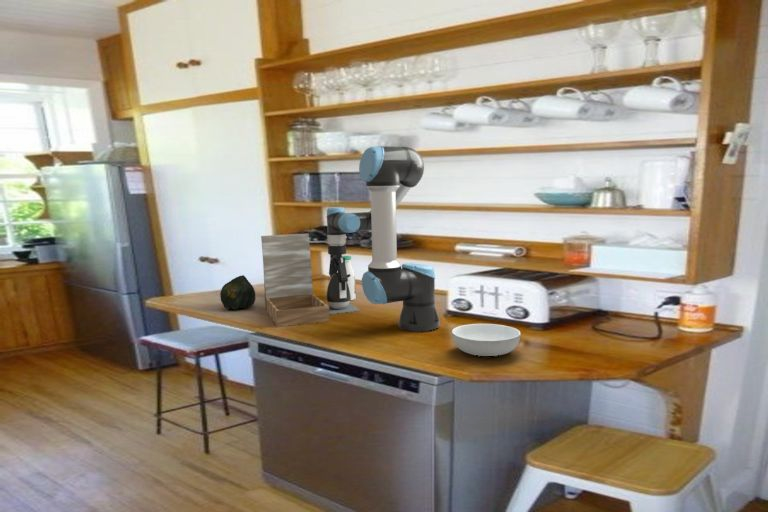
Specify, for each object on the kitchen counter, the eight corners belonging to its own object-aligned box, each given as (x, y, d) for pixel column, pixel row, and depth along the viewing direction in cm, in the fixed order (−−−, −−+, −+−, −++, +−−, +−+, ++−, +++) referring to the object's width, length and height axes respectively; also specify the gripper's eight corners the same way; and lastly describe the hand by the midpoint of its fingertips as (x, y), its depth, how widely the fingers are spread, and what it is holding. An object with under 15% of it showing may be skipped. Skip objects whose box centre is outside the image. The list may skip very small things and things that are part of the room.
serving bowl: (532, 351, 174) (533, 329, 173) (497, 368, 158) (497, 344, 157) (475, 339, 187) (475, 319, 186) (438, 354, 172) (438, 332, 171)
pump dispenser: (350, 310, 230) (349, 274, 228) (325, 311, 231) (323, 274, 229) (352, 305, 240) (351, 270, 238) (328, 305, 241) (327, 270, 239)
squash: (207, 298, 238) (227, 272, 234) (227, 292, 252) (246, 268, 248) (230, 321, 236) (250, 296, 232) (249, 314, 250) (268, 290, 246)
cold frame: (329, 321, 216) (326, 239, 212) (277, 327, 209) (273, 242, 205) (310, 305, 246) (307, 233, 241) (264, 309, 239) (260, 235, 234)
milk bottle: (353, 301, 251) (352, 257, 248) (336, 301, 253) (335, 257, 250) (357, 297, 259) (356, 255, 256) (341, 297, 260) (340, 254, 257)
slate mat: (360, 311, 232) (360, 309, 232) (327, 314, 227) (327, 313, 227) (350, 304, 245) (350, 303, 245) (318, 307, 240) (318, 306, 240)
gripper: (354, 247, 222) (356, 299, 225) (337, 241, 245) (339, 289, 248) (336, 248, 219) (338, 301, 222) (320, 242, 242) (322, 290, 245)
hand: (338, 295), depth 235 cm, fingers open, 13 cm apart
